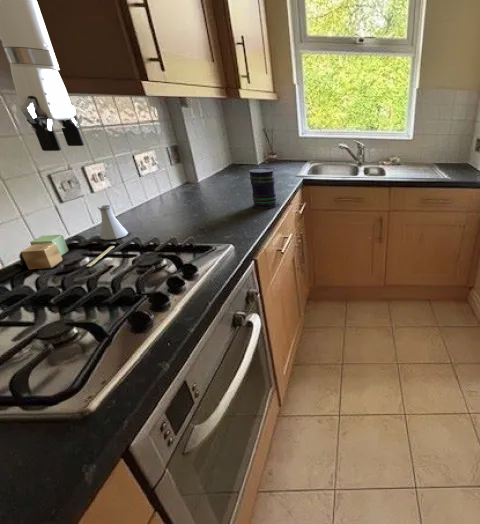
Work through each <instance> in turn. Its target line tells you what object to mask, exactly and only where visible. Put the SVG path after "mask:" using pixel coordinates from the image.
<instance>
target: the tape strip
mask: <svg viewBox="0 0 480 524" xmlns="http://www.w3.org/2000/svg"><path fill="white" fill-rule="evenodd" d="M114 248H115V245H111V246H109V247H108V248H107V249H106V250H104V251H103V252H102V253H100V254H99V255H98V256H97V257H96V258H95V259H93V260H92V261H91V262H89V263H88V264H87V265H86V268H90V267H92V266H94V265H95V264H96V263H97V262H98V261H100V259H102V258H103V257H104V256H106V255H107V254H108V253H109V252H110V251H111V250H113V249H114Z"/></svg>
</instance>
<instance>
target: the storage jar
mask: <svg viewBox="0 0 480 524" xmlns="http://www.w3.org/2000/svg"><path fill="white" fill-rule="evenodd" d="M268 163H269V161H264V164H268ZM274 172H275V171H274V168H268V167H267V168H266V167H260V168H258V167H257V168H252V169H249V180H250V185H251V188H252V194H251V195H252V201H253V208H255V209H263V210H264V209H273V208H275V207H277V206H278V197H277V192H276V186H275V185H276V177H275V173H274Z"/></svg>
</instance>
